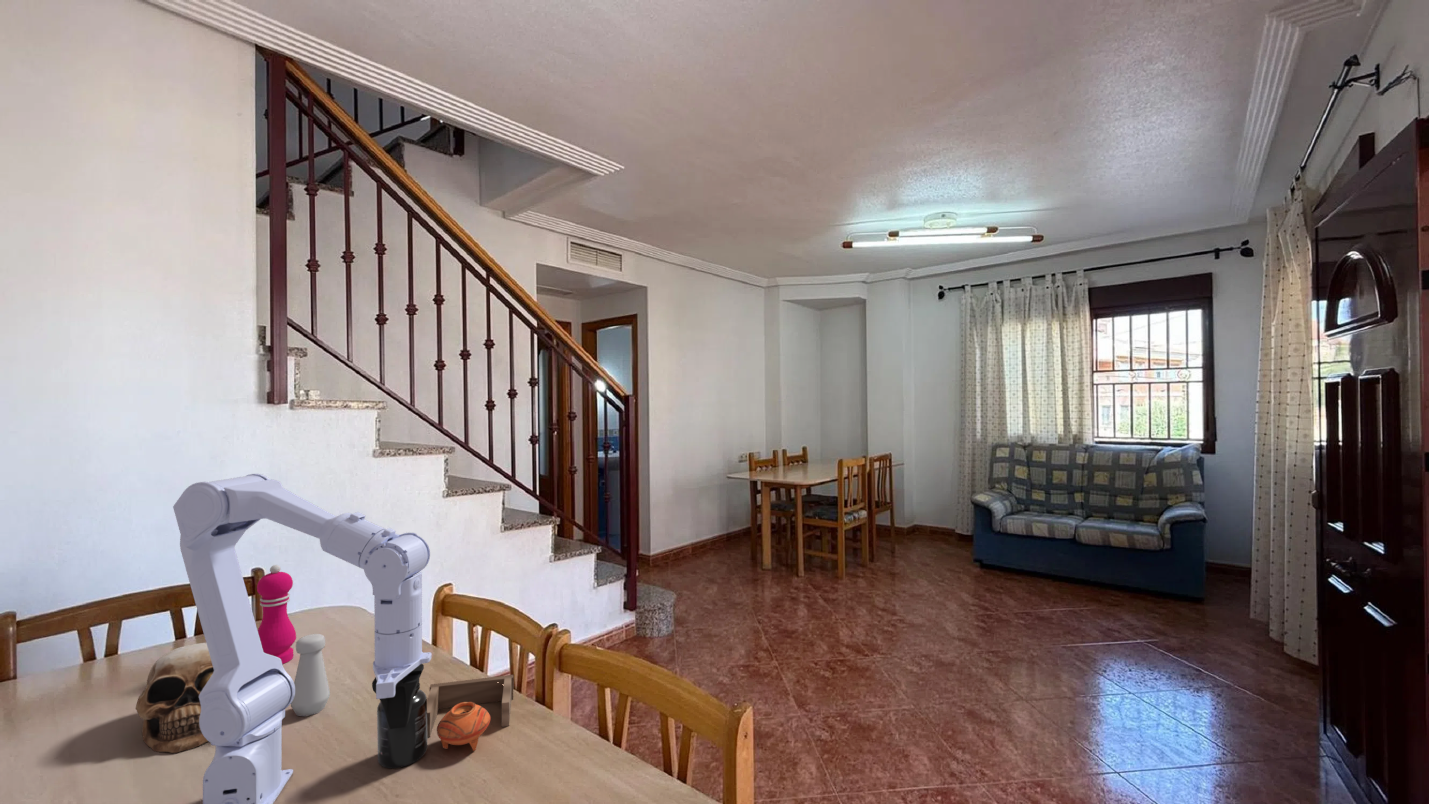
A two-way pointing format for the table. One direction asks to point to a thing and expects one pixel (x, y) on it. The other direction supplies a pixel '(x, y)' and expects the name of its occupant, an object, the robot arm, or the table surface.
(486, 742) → the table surface
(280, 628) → the pepper mill
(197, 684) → the skull
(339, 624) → the table surface
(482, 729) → the pot
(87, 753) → the table surface
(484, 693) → the cradle
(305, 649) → the salt shaker
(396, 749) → the supplement bottle
